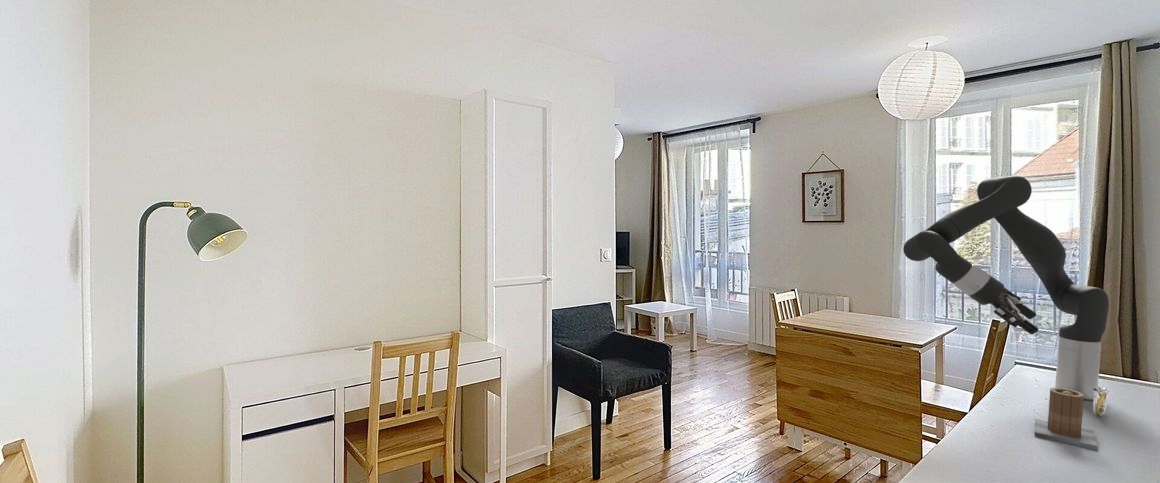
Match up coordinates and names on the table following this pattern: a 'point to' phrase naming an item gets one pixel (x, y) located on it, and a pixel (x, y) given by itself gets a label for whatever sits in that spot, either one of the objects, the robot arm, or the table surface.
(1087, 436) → the grey post stand
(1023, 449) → the table surface
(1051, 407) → the wooden slatted cup
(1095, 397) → the ring
